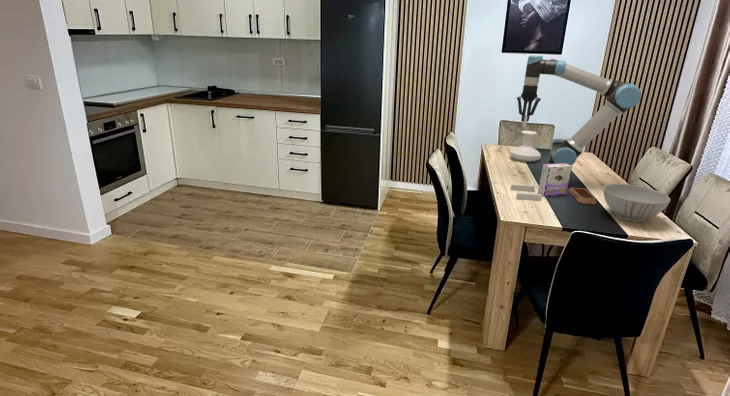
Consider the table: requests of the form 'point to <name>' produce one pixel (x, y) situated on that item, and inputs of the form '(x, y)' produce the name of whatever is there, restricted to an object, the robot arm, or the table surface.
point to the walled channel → (526, 195)
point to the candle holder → (526, 149)
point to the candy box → (554, 179)
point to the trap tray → (583, 196)
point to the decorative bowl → (634, 201)
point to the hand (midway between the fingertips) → (523, 127)
